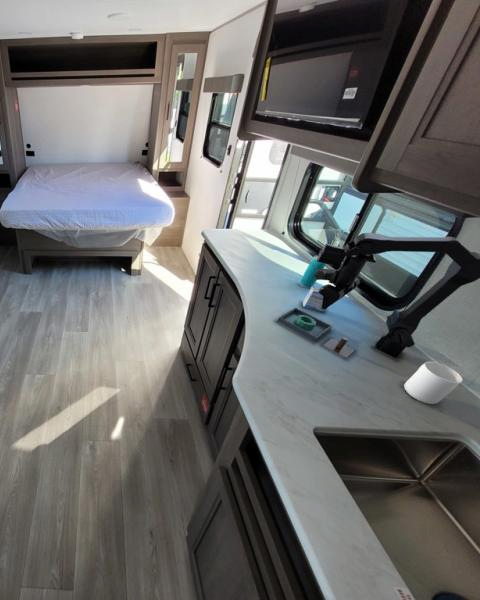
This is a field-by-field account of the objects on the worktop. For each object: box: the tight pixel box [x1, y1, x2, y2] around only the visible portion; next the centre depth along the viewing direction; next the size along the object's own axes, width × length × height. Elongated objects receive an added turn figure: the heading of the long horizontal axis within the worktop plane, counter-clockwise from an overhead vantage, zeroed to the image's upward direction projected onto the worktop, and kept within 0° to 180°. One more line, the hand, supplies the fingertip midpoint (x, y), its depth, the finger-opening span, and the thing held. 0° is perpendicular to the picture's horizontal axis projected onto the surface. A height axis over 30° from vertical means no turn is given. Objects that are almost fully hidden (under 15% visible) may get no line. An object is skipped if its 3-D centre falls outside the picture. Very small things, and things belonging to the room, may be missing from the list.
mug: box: [403, 361, 464, 405], centre depth 95 cm, size 12×8×10 cm
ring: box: [293, 315, 317, 332], centre depth 121 cm, size 6×6×3 cm
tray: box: [276, 307, 333, 343], centre depth 122 cm, size 14×13×2 cm
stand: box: [323, 336, 356, 359], centre depth 111 cm, size 8×8×5 cm
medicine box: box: [302, 286, 328, 313], centre depth 131 cm, size 8×4×9 cm, turn 62°
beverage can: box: [299, 255, 327, 289], centre depth 145 cm, size 6×6×15 cm
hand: (328, 305), depth 116 cm, fingers open, 9 cm apart
